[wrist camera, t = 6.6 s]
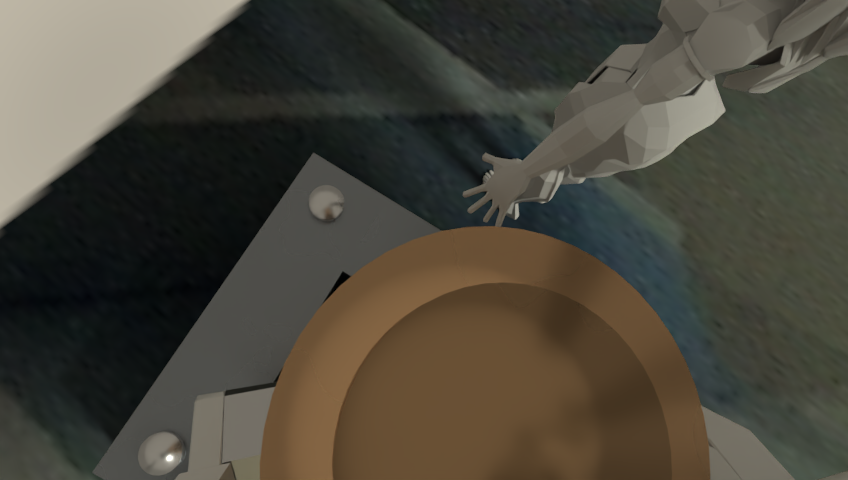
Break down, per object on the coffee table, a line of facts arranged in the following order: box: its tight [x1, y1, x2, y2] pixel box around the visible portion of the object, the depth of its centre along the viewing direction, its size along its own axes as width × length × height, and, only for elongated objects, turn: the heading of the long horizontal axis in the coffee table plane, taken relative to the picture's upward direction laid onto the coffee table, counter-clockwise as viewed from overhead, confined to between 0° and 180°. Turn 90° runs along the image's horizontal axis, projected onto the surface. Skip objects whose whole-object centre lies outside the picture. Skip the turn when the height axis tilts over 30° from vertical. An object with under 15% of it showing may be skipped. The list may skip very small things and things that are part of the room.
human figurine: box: [463, 0, 848, 227], centre depth 15 cm, size 12×4×18 cm, turn 120°
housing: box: [92, 153, 441, 480], centre depth 19 cm, size 12×12×3 cm
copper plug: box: [260, 226, 710, 480], centre depth 12 cm, size 5×5×13 cm
